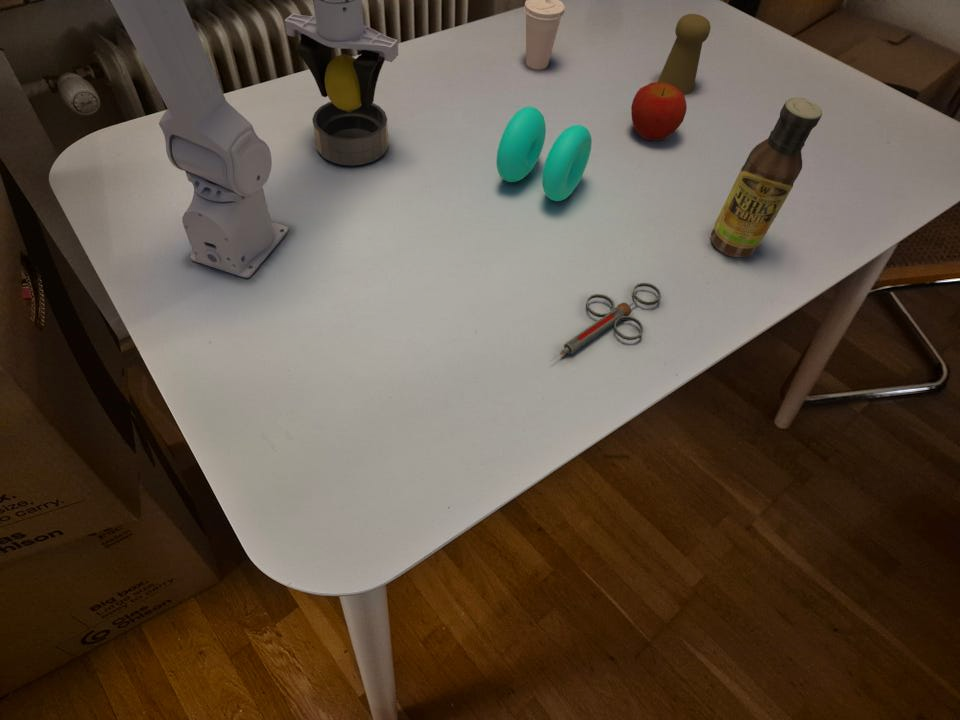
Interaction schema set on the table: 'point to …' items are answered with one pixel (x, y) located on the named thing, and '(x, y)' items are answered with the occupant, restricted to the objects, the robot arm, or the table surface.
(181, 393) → the table surface
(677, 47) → the pawn
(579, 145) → the donuts
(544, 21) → the smoothie
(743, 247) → the sauce bottle
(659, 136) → the apple
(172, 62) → the robot arm
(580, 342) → the syringe
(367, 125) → the bowl
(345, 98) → the lemon
